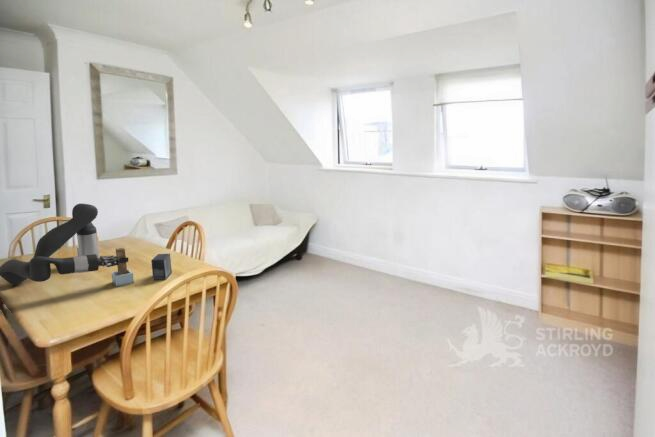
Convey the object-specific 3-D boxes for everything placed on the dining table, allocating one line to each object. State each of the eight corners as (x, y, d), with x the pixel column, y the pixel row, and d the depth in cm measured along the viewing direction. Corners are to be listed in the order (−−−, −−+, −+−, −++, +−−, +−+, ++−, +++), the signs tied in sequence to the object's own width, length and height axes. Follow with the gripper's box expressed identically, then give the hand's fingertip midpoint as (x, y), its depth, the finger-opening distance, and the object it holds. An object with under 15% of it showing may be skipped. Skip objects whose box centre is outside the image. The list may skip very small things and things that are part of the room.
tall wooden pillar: (120, 281, 189) (117, 250, 186) (118, 279, 191) (115, 248, 188) (127, 279, 191) (124, 249, 188) (126, 277, 193) (122, 247, 190)
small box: (159, 273, 205) (157, 253, 203) (172, 272, 206) (170, 253, 204) (152, 280, 195) (150, 259, 193) (166, 280, 196) (164, 259, 194)
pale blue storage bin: (116, 286, 186) (115, 276, 185) (112, 282, 192) (111, 272, 191) (133, 283, 191) (132, 273, 190) (129, 278, 197) (128, 269, 196)
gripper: (82, 268, 185) (122, 263, 196) (89, 275, 175) (131, 269, 186) (81, 252, 184) (122, 248, 195) (88, 258, 174) (131, 253, 185)
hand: (126, 258), depth 191 cm, fingers open, 3 cm apart
